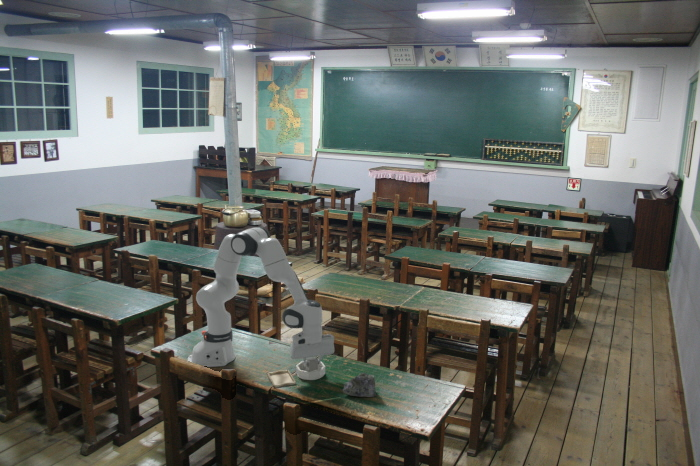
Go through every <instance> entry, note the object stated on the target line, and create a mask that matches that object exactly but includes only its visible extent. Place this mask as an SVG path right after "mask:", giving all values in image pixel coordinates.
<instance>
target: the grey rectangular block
mask: <svg viewBox="0 0 700 466" xmlns="http://www.w3.org/2000/svg"><path fill="white" fill-rule="evenodd" d="M306 360H307V361H308V363H309V366H307V368H308V369H309V371H312V370H318V358H317V356H315V357H308V358H306Z"/></svg>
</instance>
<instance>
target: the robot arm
mask: <svg viewBox="0 0 700 466" xmlns="http://www.w3.org/2000/svg"><path fill="white" fill-rule="evenodd" d="M220 243H221V244H220V246H219V248H218V251H217V254H216V257H215V260H214V264H213V267H212V268H213V271H214V273H215V279H214V280H213V281H212V282H210V283H208V284H206V285H204V286H202V287H201V288H200V289H199V290H198V291H197V292H196V296H195V300H196V302H197V305H198V306H199V307H200V308H202V309H203V311H204V312H205V314H206V320H207V321H206V323H207V330H202V331H201V336H203V339H202V340H200V341H199V342H198V343H197V344H195V345H194V347H193V349H192V353H191V354H190V355H188V357H187V362H188V361H190V362H192V363H196V364H199V365H203V366H207V367H206V368H213V367H225V366H227V365H228V364H229V363H231V362H233V361H234V360H235V359H236V354H235V351H234V345H233V339H234V338H233V336H234V335H233V334H234V333H233V330H232V315H231V313H230V312H229V311H227V310H226V307H225V303H226V302H227V301H230V300H231V299H233V298H234V297H235V296H236V295H237V294H238V293H239V291H240V285H239V282H238V280H237V276H238V275H237V274H238V272H239V271H238V270H239V267H240V264H241V261H242V257H244V256H245V257H246V256H250V257H253V256H255V255H257V256H258V257H259V259H260V260H261V263H262V267H263V268H264V272H265V274H266V275H267V277H268V279H269V280H271V281H273V282H277V283H283V284H284V285H285V286H286V287H287V288H288V291H289V293H290V295H291V298H292V299H293V301H294V302H293V304H292V305H290V306H289V307H288V308H287V307H286V309H284V310H283V313H282V315H281V318H282V323H283V324H284V325H285V326H286V327H287V328H289V329H302V330H301V331H300V332H298V333H295V334H293V335H292V336H291V339H292V341H291V343H290V346H289V347H290V348H289V357H290V358H291V359H292V360H293V361H294V360H299V359H301V360H302V361H304V364H305V367H307V366H309V363H308V361H306V360H307V358H311V357H318V358H317V360H318V365H320V361H321V362H322V360H323V357H324V356H327V355H332V354H334V353H335V344H334V343H335V335H333V334H332V333H327V334H323V326H322V325H323V309H322V308H323V307H322V305H321V303H320V302H318V301H317V300H314V299H309V296H308V295H307V293H306V292H305V290H304V287H303V285H302V283H301V281H300V278H299V277H298V275H297V273H296V272H295V270H294V269H293V267H292V266H291V264H290V263H289V260H288V257H287V255H286V252H285V249H284V247H283V246H282V245H281V242H280V241H279V240H278V239H277V238H276V237H275V238H274V237H271V234H270V232H269V230H268V228H266V227H264V226H263V227H262V226H254V227H249V228H247V229H245V230H242V231H239V232H237V233H236V234H235V233H230V234H226V236H224V238H223V239H222V241H221V242H220Z"/></svg>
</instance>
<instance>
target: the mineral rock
mask: <svg viewBox="0 0 700 466" xmlns="http://www.w3.org/2000/svg"><path fill="white" fill-rule="evenodd" d="M343 386H344V387H343V388H342V392H343V394H346V395H348V396H351V397H352V396H353V397H365V398H366V397H368V398H369V397H370V398H373V397H375V396H376V378H375V374H368V373H367V372H362V373H359V374H358V375H357V376H356V377H352V378H351V379H350V380H349V381H347V382H344V383H343Z"/></svg>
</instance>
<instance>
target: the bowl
mask: <svg viewBox="0 0 700 466" xmlns="http://www.w3.org/2000/svg"><path fill="white" fill-rule="evenodd" d="M305 361H307V359H306V360H305ZM295 373H296V376H297V378H299V379H302V380H304V381H305V380H306V381H315V380H319V379H321V378H323V377H324V376H325V374H326V365H325V364H324V362H323V361H322V360H321V361H320V365H318V370H315V371H311V372H308V371H304V361H303V360H301V361H300V362H299V363H297V364H296V365H295Z"/></svg>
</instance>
